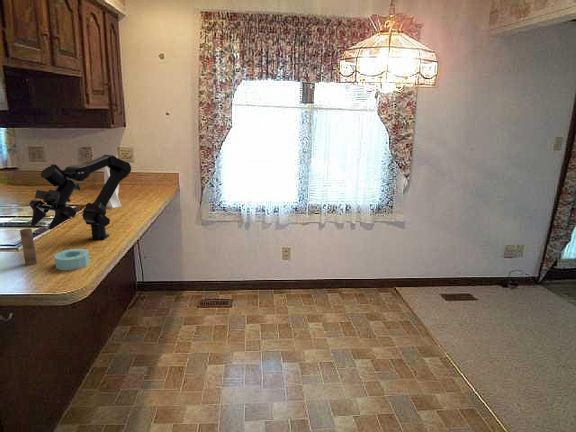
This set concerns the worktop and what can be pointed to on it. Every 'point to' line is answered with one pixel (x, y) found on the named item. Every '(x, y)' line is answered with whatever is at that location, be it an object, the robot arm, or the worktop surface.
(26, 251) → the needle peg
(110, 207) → the skyscraper
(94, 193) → the worktop surface
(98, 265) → the worktop surface
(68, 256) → the bead
